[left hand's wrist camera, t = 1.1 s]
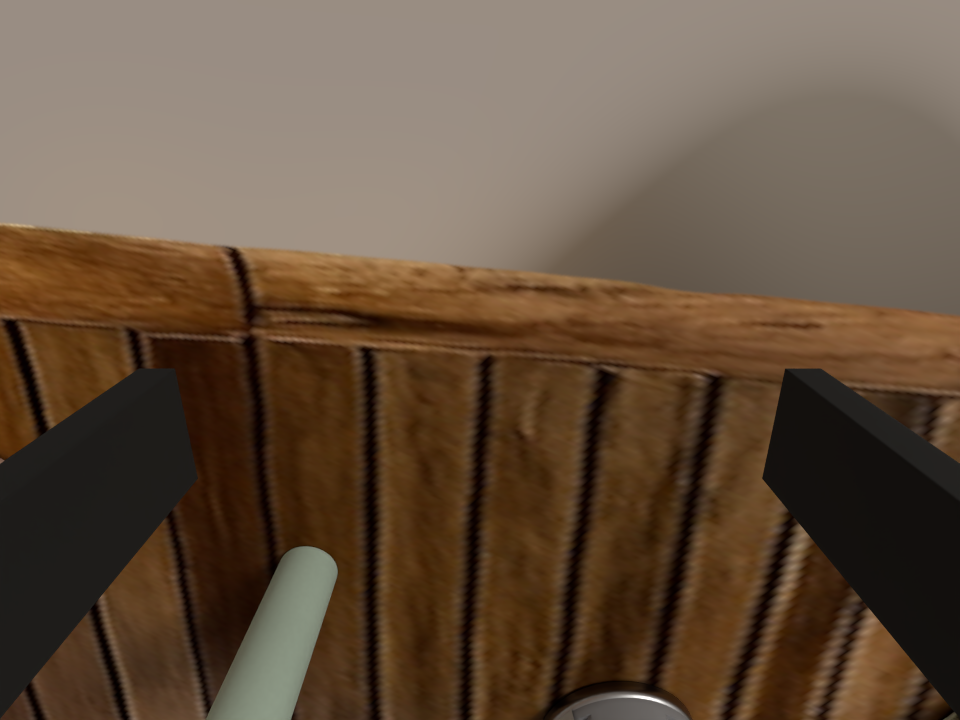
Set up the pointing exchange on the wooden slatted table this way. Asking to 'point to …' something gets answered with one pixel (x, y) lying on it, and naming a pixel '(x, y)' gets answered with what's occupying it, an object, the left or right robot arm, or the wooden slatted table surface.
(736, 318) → the wooden slatted table surface
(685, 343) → the wooden slatted table surface
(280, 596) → the pale green cylinder
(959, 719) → the fossil
